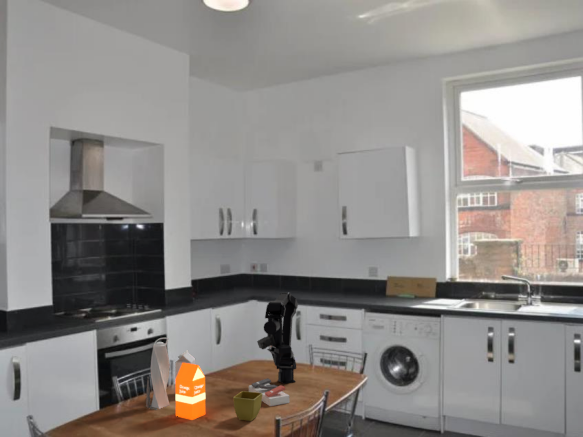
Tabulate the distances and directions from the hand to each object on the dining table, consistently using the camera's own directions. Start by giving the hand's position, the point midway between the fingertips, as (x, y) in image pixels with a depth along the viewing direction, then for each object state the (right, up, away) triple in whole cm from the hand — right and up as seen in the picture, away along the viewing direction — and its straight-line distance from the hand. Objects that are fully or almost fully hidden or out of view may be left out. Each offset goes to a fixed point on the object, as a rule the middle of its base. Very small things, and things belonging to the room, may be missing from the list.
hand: (276, 365), depth 235 cm
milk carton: (-40, -13, -1) cm, 42 cm away
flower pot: (-10, -11, -33) cm, 36 cm away
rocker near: (-7, -8, 0) cm, 10 cm away
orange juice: (-33, -12, -28) cm, 45 cm away
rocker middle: (-3, -8, -7) cm, 11 cm away
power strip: (-5, -12, -4) cm, 13 cm away
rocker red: (0, -8, -13) cm, 15 cm away
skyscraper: (-48, -13, -17) cm, 52 cm away
